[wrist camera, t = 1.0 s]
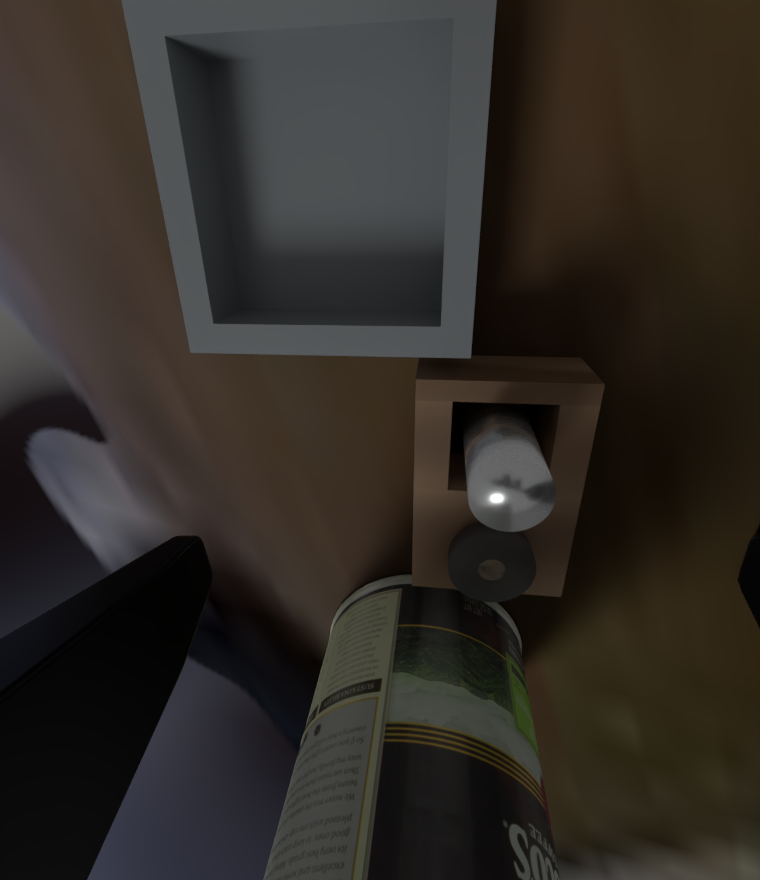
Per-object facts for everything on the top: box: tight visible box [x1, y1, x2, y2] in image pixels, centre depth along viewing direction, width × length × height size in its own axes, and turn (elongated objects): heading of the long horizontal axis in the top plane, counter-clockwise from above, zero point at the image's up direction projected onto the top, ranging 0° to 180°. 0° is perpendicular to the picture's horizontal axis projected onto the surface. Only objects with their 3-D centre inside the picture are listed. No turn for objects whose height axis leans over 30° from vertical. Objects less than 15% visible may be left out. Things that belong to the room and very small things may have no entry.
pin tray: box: [122, 0, 497, 358], centre depth 15 cm, size 10×10×3 cm
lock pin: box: [462, 402, 556, 532], centre depth 16 cm, size 2×2×6 cm
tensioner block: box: [412, 355, 605, 602], centre depth 18 cm, size 9×6×4 cm, turn 1°
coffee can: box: [264, 574, 560, 880], centre depth 19 cm, size 10×10×14 cm
